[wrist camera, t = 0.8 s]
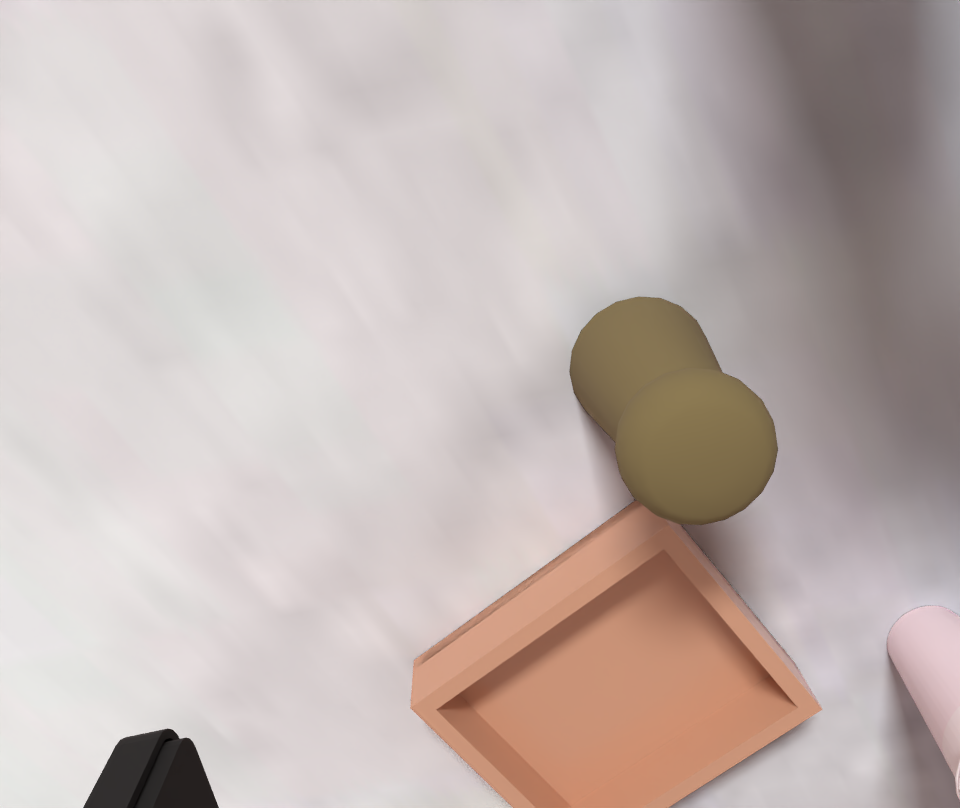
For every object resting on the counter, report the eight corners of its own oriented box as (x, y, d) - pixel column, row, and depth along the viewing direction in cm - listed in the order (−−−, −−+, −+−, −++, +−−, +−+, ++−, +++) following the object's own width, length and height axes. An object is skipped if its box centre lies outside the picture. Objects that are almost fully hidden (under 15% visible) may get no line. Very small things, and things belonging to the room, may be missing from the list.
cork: (710, 425, 39) (802, 545, 29) (572, 437, 39) (615, 561, 29) (710, 290, 37) (809, 366, 27) (565, 302, 37) (608, 384, 27)
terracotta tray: (651, 489, 40) (668, 524, 37) (794, 662, 43) (822, 709, 40) (413, 660, 43) (410, 708, 39) (565, 811, 46) (574, 867, 43)
